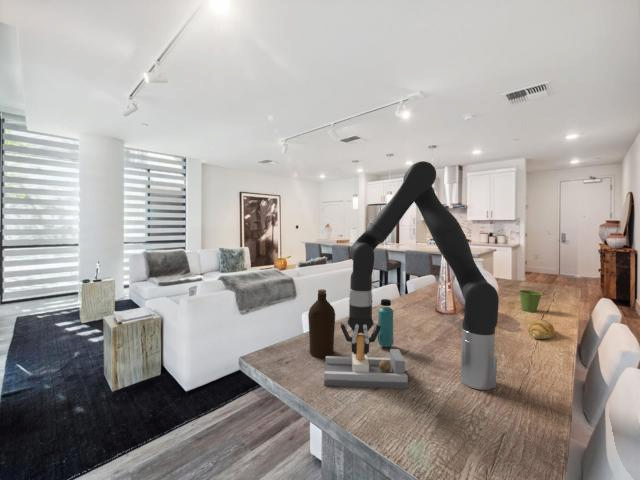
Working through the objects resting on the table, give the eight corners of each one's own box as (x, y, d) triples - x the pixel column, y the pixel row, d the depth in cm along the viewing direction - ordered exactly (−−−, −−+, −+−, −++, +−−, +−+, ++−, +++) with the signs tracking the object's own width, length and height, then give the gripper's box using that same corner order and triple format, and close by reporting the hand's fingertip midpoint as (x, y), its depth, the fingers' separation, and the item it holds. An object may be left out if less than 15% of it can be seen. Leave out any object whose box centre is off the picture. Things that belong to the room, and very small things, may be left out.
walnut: (389, 369, 101) (389, 357, 101) (391, 375, 97) (392, 363, 97) (377, 368, 101) (378, 357, 101) (379, 374, 97) (379, 362, 97)
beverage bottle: (396, 347, 123) (397, 299, 122) (388, 352, 118) (388, 302, 117) (382, 342, 128) (383, 296, 127) (374, 347, 123) (374, 299, 122)
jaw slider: (366, 364, 104) (366, 330, 103) (368, 377, 95) (369, 340, 95) (351, 364, 104) (352, 330, 104) (353, 376, 96) (353, 340, 95)
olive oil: (335, 358, 112) (336, 293, 111) (307, 358, 112) (307, 293, 111) (334, 347, 123) (334, 287, 121) (308, 346, 123) (309, 287, 122)
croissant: (543, 350, 130) (554, 336, 127) (519, 334, 136) (529, 320, 133) (552, 336, 144) (562, 324, 141) (530, 322, 151) (540, 310, 147)
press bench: (398, 366, 106) (398, 346, 106) (407, 388, 92) (408, 364, 92) (325, 364, 107) (325, 344, 107) (324, 385, 93) (324, 362, 93)
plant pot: (523, 313, 173) (524, 293, 172) (513, 307, 184) (514, 289, 184) (546, 314, 171) (547, 294, 170) (534, 308, 182) (535, 290, 182)
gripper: (380, 300, 102) (379, 349, 103) (339, 299, 103) (339, 348, 104) (383, 306, 94) (382, 359, 95) (339, 305, 95) (339, 357, 96)
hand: (360, 353), depth 99 cm, fingers closed on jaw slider, 3 cm apart
